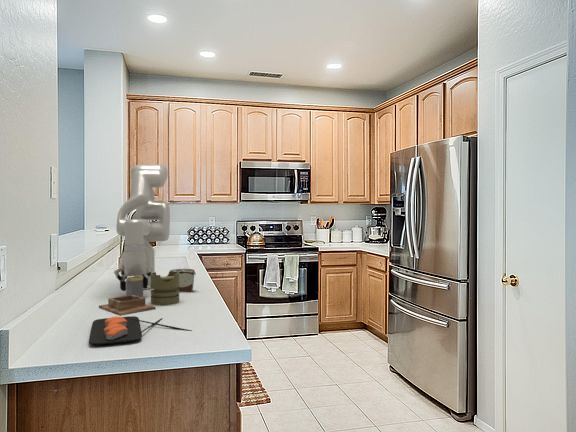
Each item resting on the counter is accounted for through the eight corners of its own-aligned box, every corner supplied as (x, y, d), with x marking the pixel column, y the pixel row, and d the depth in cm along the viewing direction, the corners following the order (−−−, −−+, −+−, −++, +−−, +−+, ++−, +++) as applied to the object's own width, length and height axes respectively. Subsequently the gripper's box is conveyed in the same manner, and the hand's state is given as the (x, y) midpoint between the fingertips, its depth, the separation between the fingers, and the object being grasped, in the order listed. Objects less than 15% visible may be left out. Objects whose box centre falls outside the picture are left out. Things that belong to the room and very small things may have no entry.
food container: (199, 290, 212) (199, 268, 212) (195, 292, 206) (195, 270, 206) (173, 289, 214) (173, 268, 213) (169, 292, 207) (168, 270, 207)
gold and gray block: (126, 298, 193) (126, 277, 193) (137, 296, 197) (137, 276, 197) (132, 300, 190) (131, 278, 189) (143, 298, 193) (142, 277, 193)
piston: (182, 274, 183) (153, 276, 178) (182, 303, 183) (153, 306, 178) (175, 270, 193) (148, 272, 188) (175, 298, 193) (148, 301, 188)
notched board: (98, 307, 176) (98, 297, 176) (132, 302, 186) (132, 292, 186) (120, 315, 164) (120, 304, 164) (155, 308, 174) (155, 299, 174)
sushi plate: (93, 324, 153) (92, 313, 153) (183, 316, 164) (183, 306, 164) (88, 350, 126) (87, 337, 126) (196, 339, 137) (196, 326, 136)
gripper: (148, 247, 201) (148, 286, 201) (110, 249, 189) (110, 290, 189) (157, 248, 196) (157, 287, 196) (118, 250, 184) (118, 292, 184)
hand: (134, 289), depth 192 cm, fingers open, 9 cm apart
